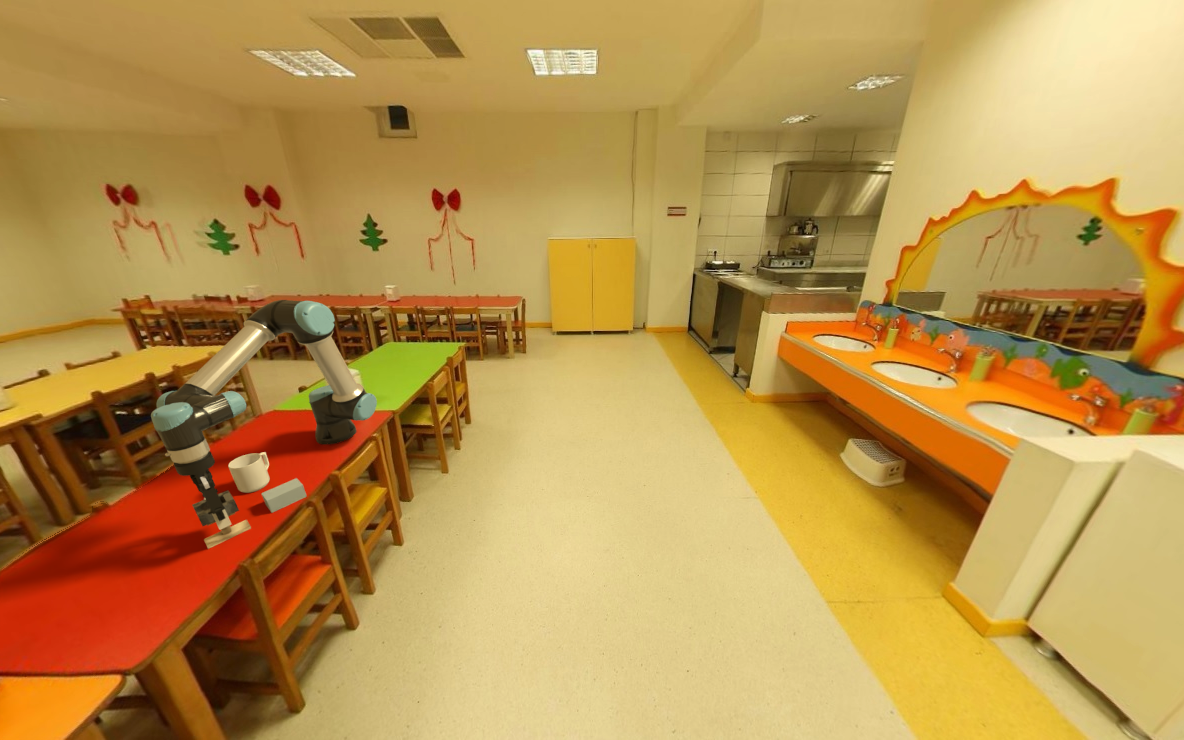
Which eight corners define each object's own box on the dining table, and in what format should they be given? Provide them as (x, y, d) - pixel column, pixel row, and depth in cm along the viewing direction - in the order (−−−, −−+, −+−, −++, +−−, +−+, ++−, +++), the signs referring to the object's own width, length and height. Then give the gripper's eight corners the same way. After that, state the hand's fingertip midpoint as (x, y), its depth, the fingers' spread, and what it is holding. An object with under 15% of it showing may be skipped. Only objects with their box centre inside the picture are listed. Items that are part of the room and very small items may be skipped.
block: (300, 489, 135) (296, 478, 133) (306, 496, 132) (302, 484, 130) (265, 505, 128) (261, 493, 126) (271, 512, 125) (266, 500, 123)
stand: (246, 520, 121) (229, 480, 115) (252, 529, 118) (234, 488, 112) (204, 540, 114) (183, 498, 108) (209, 550, 110) (187, 507, 104)
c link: (232, 499, 118) (228, 490, 116) (239, 510, 113) (235, 501, 112) (196, 514, 112) (192, 504, 110) (202, 526, 107) (198, 516, 106)
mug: (257, 494, 133) (246, 468, 128) (232, 494, 133) (220, 468, 128) (283, 473, 144) (274, 448, 140) (260, 472, 144) (250, 448, 140)
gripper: (166, 449, 108) (197, 511, 117) (180, 478, 96) (213, 544, 105) (202, 438, 113) (228, 498, 122) (219, 464, 102) (247, 528, 111)
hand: (221, 519), depth 114 cm, fingers closed on c link, 8 cm apart
